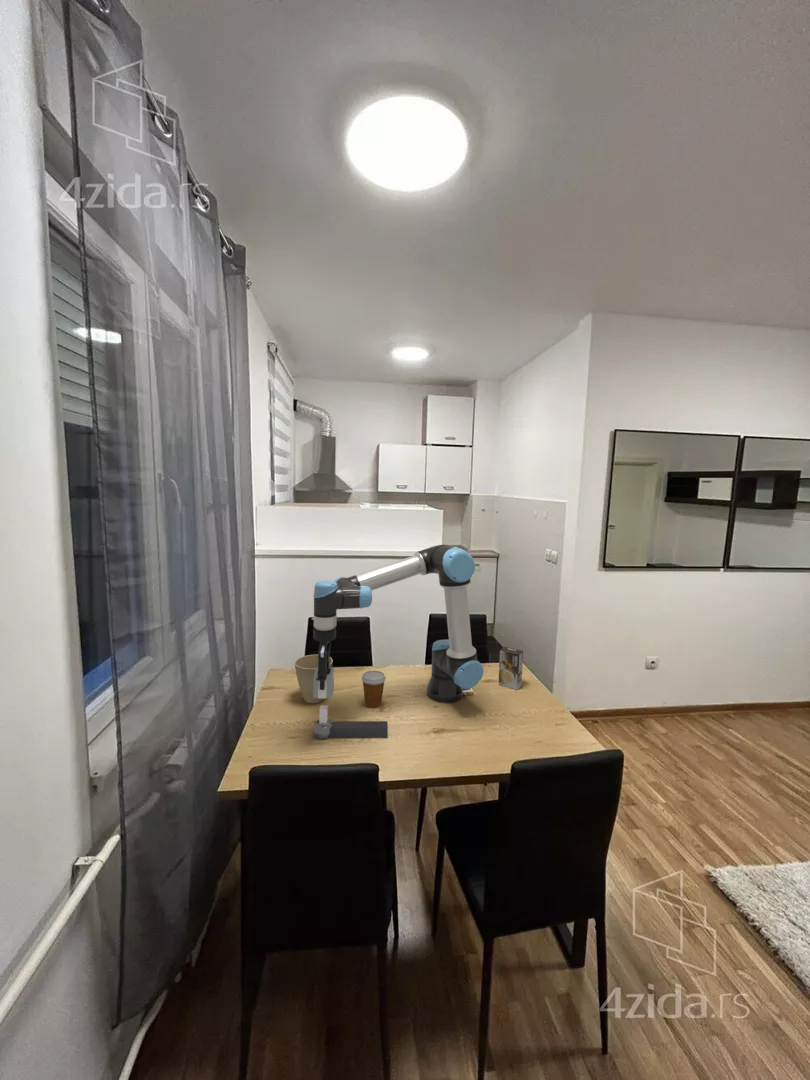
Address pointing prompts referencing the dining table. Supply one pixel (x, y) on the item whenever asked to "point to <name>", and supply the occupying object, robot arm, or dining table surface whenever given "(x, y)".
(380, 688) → the disposable coffee cup
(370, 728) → the ratchet
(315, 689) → the socket
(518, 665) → the coffee box
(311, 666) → the plant pot
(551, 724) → the dining table surface
